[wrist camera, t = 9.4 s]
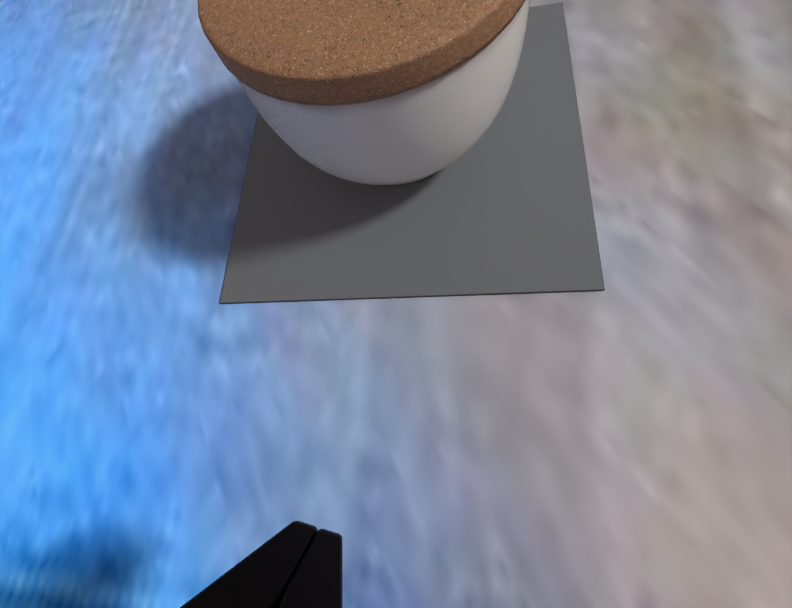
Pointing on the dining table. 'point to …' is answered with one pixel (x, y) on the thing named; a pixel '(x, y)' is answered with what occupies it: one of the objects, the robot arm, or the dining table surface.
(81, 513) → the dining table surface
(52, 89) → the dining table surface
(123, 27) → the dining table surface
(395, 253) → the placemat
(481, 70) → the lidded bowl
